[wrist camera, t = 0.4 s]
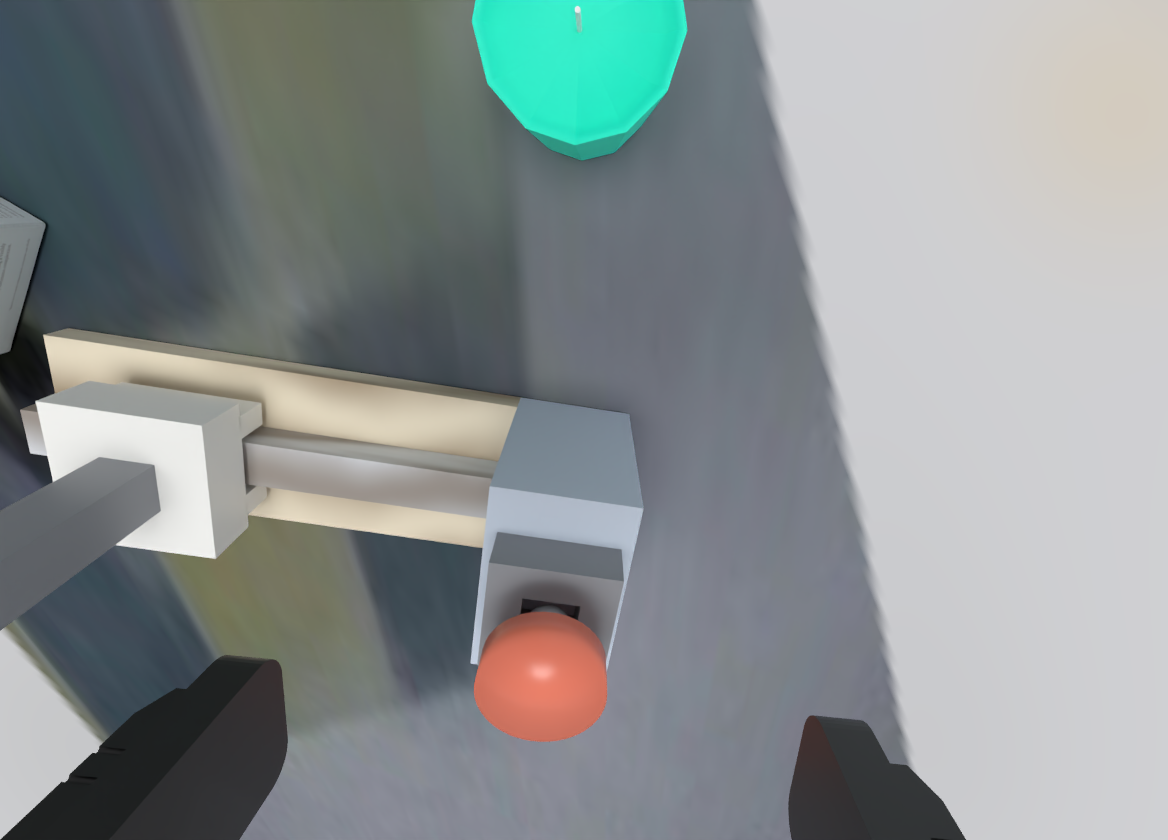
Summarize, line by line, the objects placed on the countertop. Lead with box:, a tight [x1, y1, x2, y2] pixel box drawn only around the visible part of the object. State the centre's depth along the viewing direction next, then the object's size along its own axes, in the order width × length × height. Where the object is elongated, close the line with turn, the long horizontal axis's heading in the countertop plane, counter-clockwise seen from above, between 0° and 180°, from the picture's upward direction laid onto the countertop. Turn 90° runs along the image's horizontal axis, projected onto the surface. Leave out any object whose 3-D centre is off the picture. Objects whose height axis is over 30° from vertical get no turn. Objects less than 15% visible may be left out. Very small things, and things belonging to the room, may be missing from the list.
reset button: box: [474, 605, 607, 742], centre depth 20 cm, size 4×4×3 cm
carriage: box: [0, 381, 267, 630], centre depth 24 cm, size 7×7×13 cm
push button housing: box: [471, 397, 644, 672], centre depth 27 cm, size 9×6×12 cm, turn 171°
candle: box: [472, 0, 687, 161], centre depth 20 cm, size 6×6×12 cm
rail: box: [20, 328, 521, 548], centre depth 31 cm, size 9×24×4 cm, turn 81°
